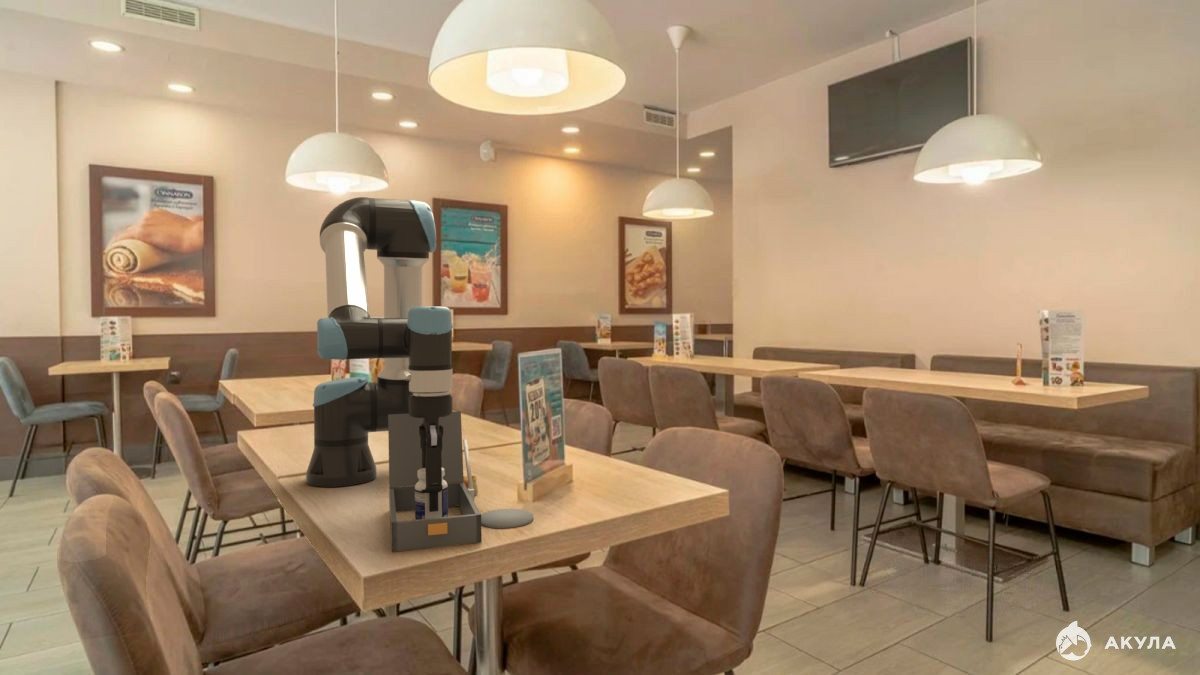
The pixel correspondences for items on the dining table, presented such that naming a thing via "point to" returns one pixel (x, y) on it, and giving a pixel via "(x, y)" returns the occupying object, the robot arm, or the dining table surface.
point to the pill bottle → (421, 496)
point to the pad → (506, 518)
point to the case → (404, 473)
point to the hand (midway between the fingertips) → (431, 523)
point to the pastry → (473, 483)
